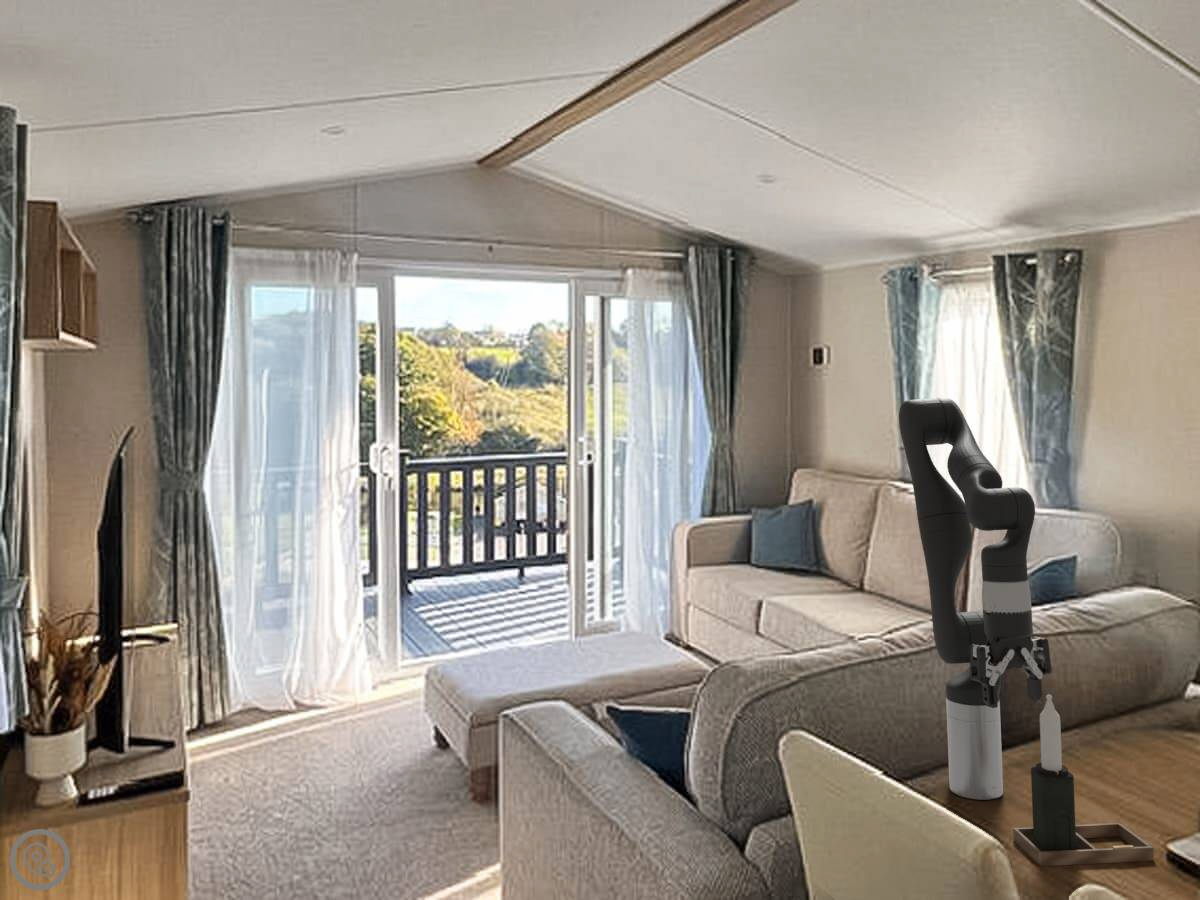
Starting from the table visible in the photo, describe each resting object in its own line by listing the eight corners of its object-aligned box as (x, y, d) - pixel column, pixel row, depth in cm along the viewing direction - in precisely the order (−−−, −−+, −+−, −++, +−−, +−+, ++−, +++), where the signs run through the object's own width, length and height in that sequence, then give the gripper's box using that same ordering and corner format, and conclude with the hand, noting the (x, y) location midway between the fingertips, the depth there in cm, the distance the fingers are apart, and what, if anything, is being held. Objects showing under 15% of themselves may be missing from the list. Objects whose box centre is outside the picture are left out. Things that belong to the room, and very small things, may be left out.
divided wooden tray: (1040, 866, 141) (1040, 851, 141) (1013, 840, 150) (1013, 826, 150) (1154, 860, 141) (1153, 845, 141) (1120, 834, 150) (1119, 820, 150)
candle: (1062, 843, 148) (1056, 689, 148) (1079, 857, 143) (1073, 698, 143) (1031, 845, 148) (1025, 691, 148) (1047, 859, 143) (1041, 700, 143)
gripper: (1026, 600, 160) (1032, 693, 160) (956, 608, 156) (962, 703, 156) (1058, 605, 153) (1065, 703, 153) (985, 614, 149) (992, 714, 149)
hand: (1013, 703), depth 154 cm, fingers open, 8 cm apart
